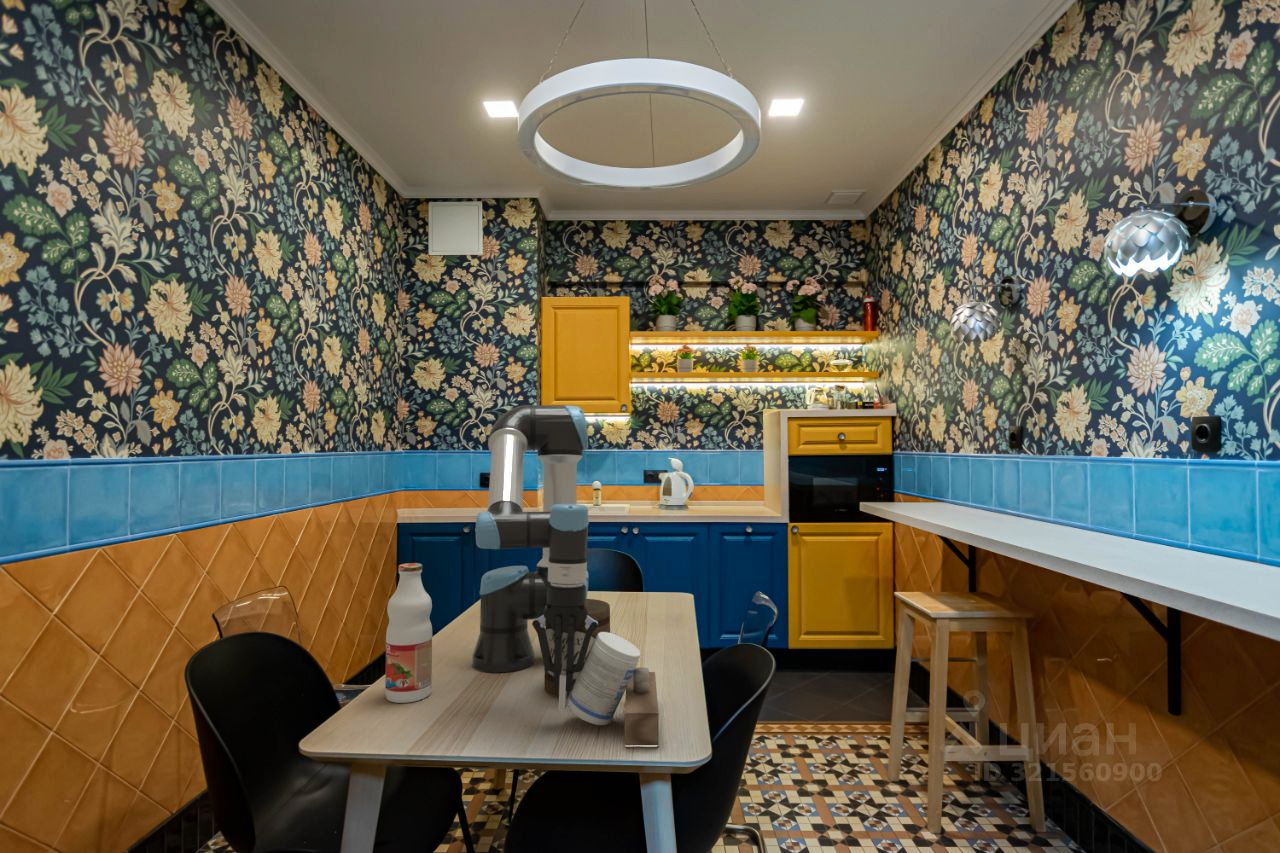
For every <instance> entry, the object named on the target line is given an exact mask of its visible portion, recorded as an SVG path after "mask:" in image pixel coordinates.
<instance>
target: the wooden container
mask: <svg viewBox="0 0 1280 853" xmlns="http://www.w3.org/2000/svg"><path fill="white" fill-rule="evenodd" d="M546 606H547V605H546ZM546 606H545V609H546ZM585 606H586V610H587V612H588V616H589V617H591V618H592V619H593V620H597V621H598V625H597V628H596V629H595V630H594V632H593V633H592V635H591V639H590V642H589V645H588V649H587V652H586V656H585V659H586V657H587V655H588V652H589V650H590V648H591V646H592V644H593V642H594V640H595V638H596V637H597V635H598V633H600V632H608V633H611V607H610V606H611V605H610V604H609V603H608V602H607V601H604V600H601V599H593V598H587V599H586V603H585ZM545 622H546V626H545V630H546V635H547V639H548V644H549V649H550V653H551V658H552V663H554V650H555V631H553V630H552V628H551V627H550V625H549V623H548V622H547V620H545ZM585 625H586V622H585V621H584V622H583V624H582V625H581V626H580V627H579V629H578V630H577V631H576V632H575V647H574V664H576V663H577V661H578V657H579V654H580V650H581V647H582V644H583V640H584V637H585V633H586V631H587V629H586V628H585ZM567 634H568V633H565V632H564V633H563V637H562V669H561V671H566V661H567ZM585 659H584V661H585ZM543 668H544V686H543V687H544V691H545V692H546V693H547V694H548V695H551V696H552V695H553V697H555V696H556V698H558V697H559V691H554V674H553V672H551V671H546V670H545V667H544V666H543ZM578 674H579V672H575V673H573V685H574V683H575V681H576V678H577V676H578ZM569 694H570V691H567V698H568V696H569ZM567 698H566V700H567Z"/></svg>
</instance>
